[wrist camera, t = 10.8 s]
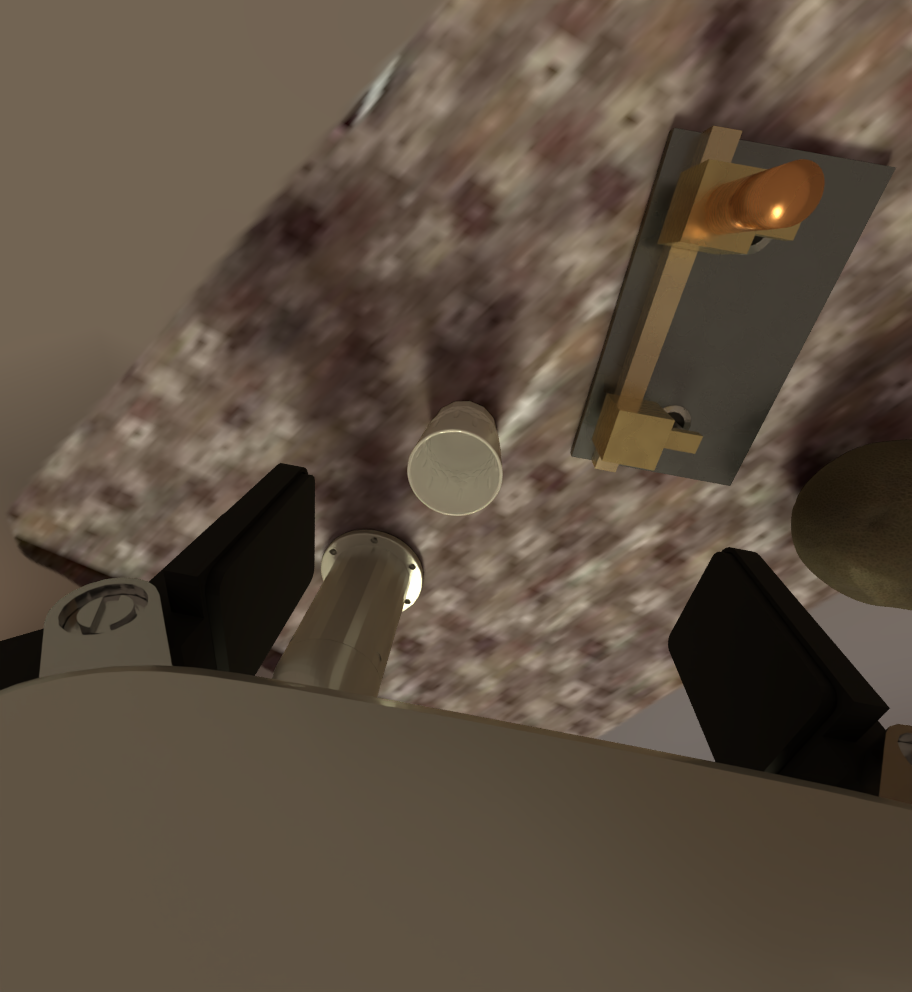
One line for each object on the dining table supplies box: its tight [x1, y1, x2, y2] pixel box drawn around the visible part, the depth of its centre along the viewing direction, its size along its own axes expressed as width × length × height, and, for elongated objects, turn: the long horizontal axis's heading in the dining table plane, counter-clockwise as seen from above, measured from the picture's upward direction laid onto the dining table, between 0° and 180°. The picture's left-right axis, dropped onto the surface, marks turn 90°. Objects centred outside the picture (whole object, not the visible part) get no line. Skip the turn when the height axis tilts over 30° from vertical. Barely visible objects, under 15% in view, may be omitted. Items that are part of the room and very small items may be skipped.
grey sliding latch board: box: [570, 126, 895, 486], centre depth 35 cm, size 26×16×8 cm, turn 171°
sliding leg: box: [657, 159, 825, 254], centre depth 28 cm, size 4×8×14 cm, turn 81°
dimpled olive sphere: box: [791, 440, 912, 610], centre depth 38 cm, size 14×14×15 cm
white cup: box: [407, 401, 503, 516], centre depth 41 cm, size 8×8×10 cm
